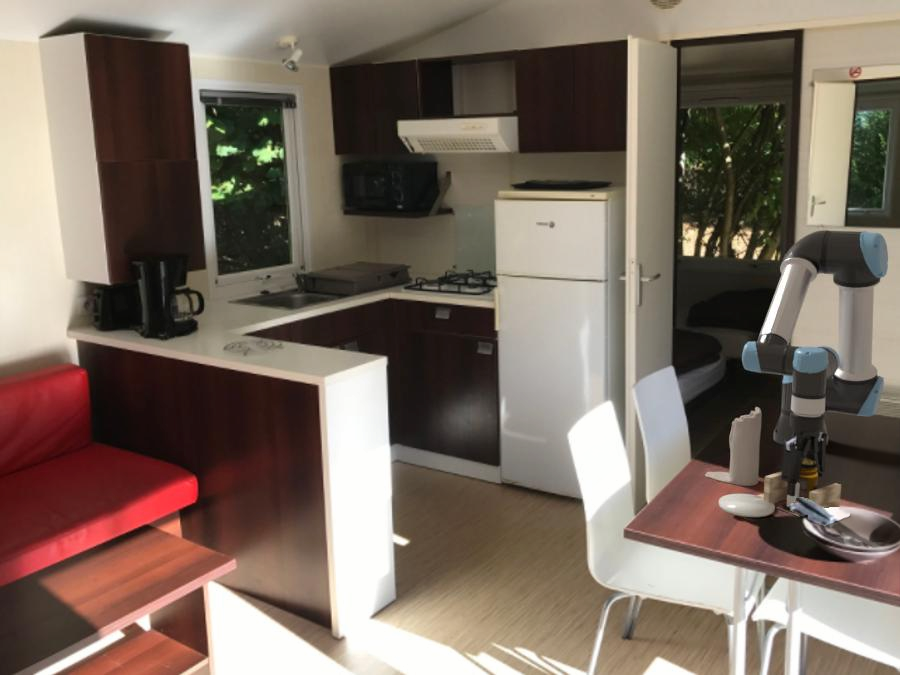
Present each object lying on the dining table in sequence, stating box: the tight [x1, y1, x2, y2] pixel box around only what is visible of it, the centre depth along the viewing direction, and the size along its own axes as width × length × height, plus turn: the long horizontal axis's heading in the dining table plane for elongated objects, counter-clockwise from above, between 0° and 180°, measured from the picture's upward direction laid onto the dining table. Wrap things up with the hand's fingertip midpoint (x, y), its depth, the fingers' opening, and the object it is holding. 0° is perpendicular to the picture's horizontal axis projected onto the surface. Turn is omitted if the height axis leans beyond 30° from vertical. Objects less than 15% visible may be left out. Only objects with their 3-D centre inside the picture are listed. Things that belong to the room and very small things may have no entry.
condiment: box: [775, 457, 819, 517], centre depth 220 cm, size 7×8×12 cm
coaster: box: [718, 493, 776, 518], centre depth 223 cm, size 13×13×1 cm
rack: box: [754, 470, 842, 508], centre depth 221 cm, size 10×20×7 cm, turn 33°
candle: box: [704, 406, 763, 487], centre depth 239 cm, size 7×14×20 cm, turn 55°
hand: (801, 504), depth 221 cm, fingers closed on condiment, 6 cm apart
